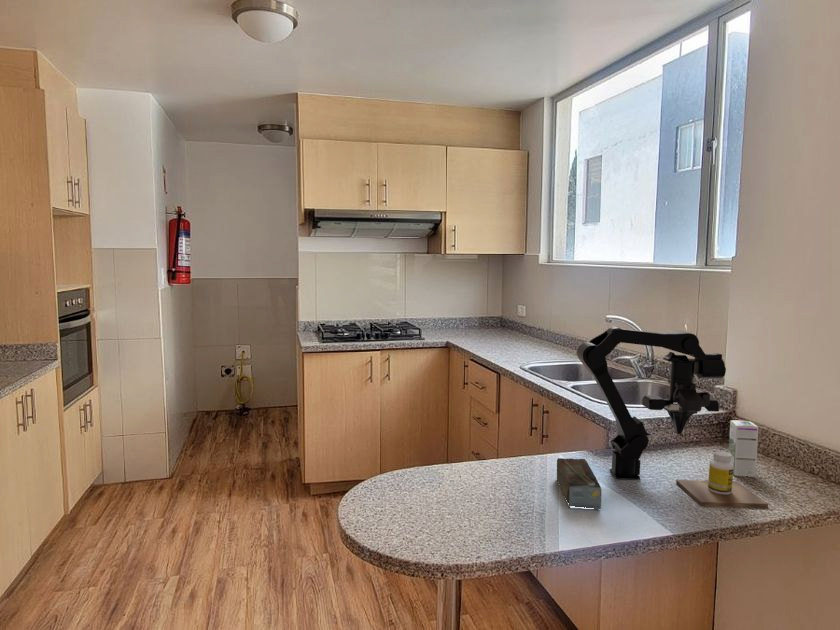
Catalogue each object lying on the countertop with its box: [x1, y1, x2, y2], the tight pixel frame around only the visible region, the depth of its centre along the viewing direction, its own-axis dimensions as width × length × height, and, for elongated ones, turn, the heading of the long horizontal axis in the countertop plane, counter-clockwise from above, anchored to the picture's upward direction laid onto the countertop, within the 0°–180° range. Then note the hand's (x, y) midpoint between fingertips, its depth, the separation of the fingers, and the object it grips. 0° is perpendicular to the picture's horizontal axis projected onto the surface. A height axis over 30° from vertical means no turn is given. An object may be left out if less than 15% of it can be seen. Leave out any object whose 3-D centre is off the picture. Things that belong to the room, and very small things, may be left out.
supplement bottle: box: [707, 450, 734, 495], centre depth 143 cm, size 5×5×10 cm
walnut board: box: [675, 479, 769, 509], centre depth 143 cm, size 16×14×1 cm
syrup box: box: [728, 419, 759, 478], centre depth 158 cm, size 6×6×14 cm
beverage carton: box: [556, 457, 602, 509], centre depth 142 cm, size 8×19×7 cm, turn 175°
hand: (678, 434), depth 154 cm, fingers closed
